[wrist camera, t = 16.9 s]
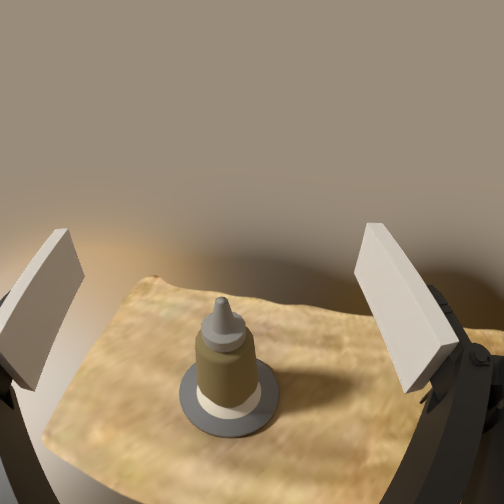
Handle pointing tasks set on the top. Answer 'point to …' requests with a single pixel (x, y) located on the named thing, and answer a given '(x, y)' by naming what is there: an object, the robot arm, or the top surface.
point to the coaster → (230, 419)
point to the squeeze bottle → (225, 357)
